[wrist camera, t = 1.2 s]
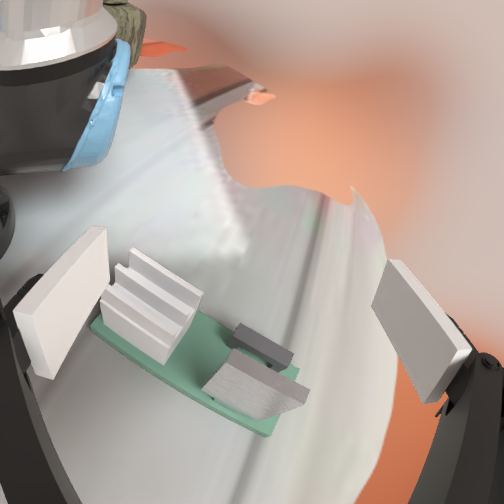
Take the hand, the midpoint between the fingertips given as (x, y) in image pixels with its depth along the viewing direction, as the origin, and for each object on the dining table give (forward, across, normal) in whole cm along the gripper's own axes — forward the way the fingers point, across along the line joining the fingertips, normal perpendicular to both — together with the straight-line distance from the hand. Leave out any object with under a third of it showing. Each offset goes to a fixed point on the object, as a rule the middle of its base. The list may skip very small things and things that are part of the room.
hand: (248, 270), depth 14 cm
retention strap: (+8, +1, -17) cm, 19 cm away
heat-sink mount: (+11, -3, -16) cm, 20 cm away
